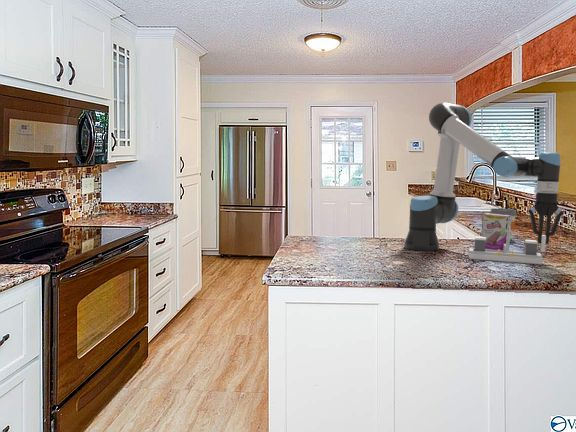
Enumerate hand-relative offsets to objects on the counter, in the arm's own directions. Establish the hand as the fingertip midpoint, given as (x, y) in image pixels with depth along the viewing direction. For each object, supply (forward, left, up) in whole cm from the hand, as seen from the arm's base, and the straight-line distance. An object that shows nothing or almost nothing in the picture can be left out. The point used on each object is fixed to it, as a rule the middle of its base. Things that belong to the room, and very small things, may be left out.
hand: (542, 251), depth 200 cm
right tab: (-4, 0, -2) cm, 5 cm away
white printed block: (-10, +63, -4) cm, 64 cm away
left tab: (-23, 0, -2) cm, 23 cm away
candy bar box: (-16, +19, -4) cm, 25 cm away
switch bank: (-14, 0, -4) cm, 14 cm away
